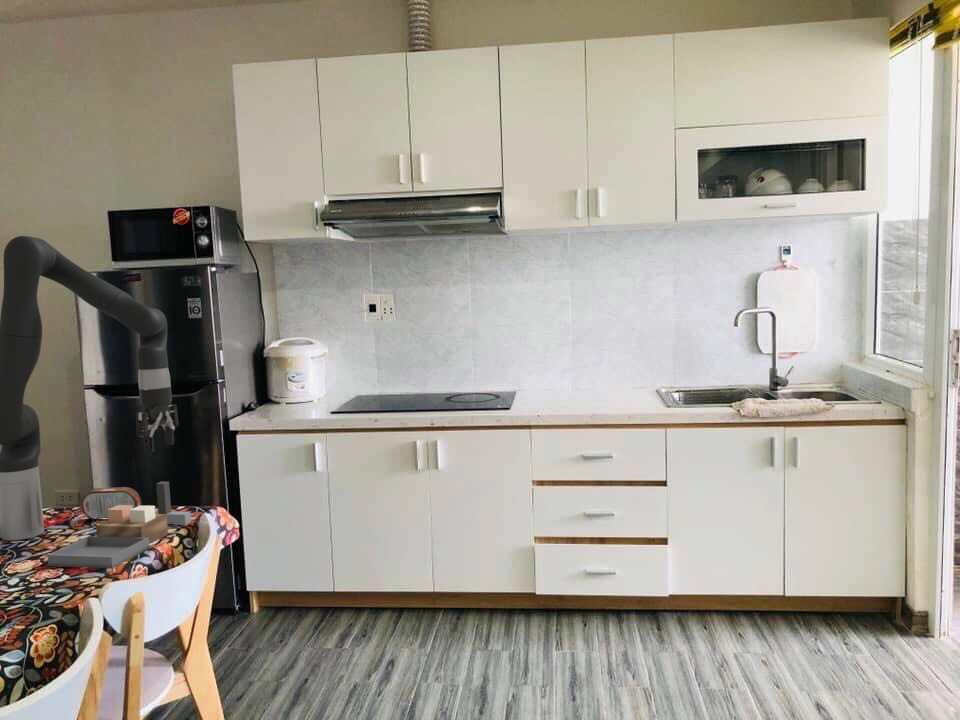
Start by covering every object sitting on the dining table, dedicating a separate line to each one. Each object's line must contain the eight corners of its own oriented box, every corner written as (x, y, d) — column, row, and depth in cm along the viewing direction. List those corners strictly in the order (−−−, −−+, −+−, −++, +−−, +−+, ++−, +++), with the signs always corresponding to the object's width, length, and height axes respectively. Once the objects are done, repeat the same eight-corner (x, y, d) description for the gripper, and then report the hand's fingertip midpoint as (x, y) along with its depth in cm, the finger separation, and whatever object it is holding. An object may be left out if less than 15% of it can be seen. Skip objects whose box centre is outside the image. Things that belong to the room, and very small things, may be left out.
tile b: (130, 522, 179) (129, 510, 179) (140, 517, 183) (139, 505, 183) (145, 522, 178) (144, 510, 178) (155, 517, 182) (154, 505, 182)
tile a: (108, 521, 180) (107, 509, 180) (119, 516, 184) (118, 505, 184) (122, 522, 179) (121, 510, 179) (133, 517, 183) (132, 505, 183)
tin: (142, 515, 202) (140, 485, 202) (137, 519, 199) (135, 488, 198) (86, 518, 202) (84, 488, 201) (80, 521, 199) (78, 491, 198)
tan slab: (97, 546, 178) (96, 525, 177) (125, 532, 187) (123, 513, 187) (142, 547, 175) (141, 526, 175) (168, 533, 185) (166, 514, 185)
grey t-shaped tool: (140, 525, 194) (137, 483, 193) (146, 522, 197) (143, 481, 196) (185, 526, 192) (182, 484, 191) (191, 523, 194) (188, 481, 193)
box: (48, 565, 165) (47, 555, 165) (89, 546, 178) (88, 536, 178) (112, 568, 162) (111, 557, 162) (149, 548, 175) (148, 537, 175)
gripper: (158, 382, 199) (163, 442, 200) (123, 390, 185) (129, 454, 186) (184, 382, 197) (188, 442, 199) (150, 389, 183) (156, 454, 185)
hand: (159, 448), depth 192 cm, fingers open, 8 cm apart
